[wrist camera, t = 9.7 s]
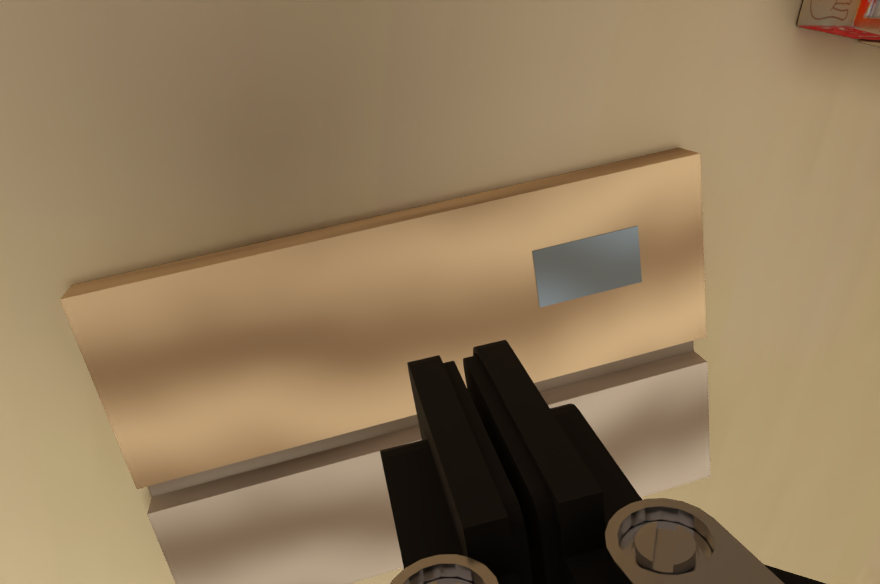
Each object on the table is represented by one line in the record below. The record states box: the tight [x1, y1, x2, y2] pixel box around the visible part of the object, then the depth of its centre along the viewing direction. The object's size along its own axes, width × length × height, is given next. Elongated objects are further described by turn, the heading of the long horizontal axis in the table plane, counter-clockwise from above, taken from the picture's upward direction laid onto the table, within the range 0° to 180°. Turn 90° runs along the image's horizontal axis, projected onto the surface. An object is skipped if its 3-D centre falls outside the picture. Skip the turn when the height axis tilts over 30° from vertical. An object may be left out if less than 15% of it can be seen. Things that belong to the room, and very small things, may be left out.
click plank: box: [60, 148, 707, 489], centre depth 28 cm, size 8×24×2 cm, turn 100°
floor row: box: [147, 341, 710, 584], centre depth 31 cm, size 7×24×2 cm, turn 100°
